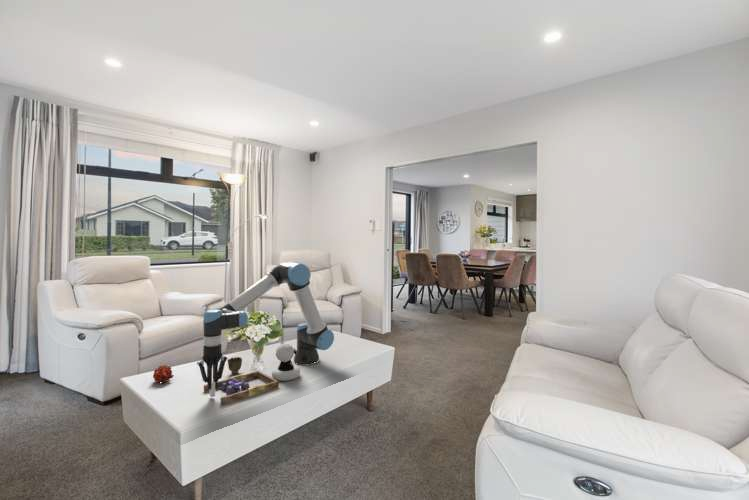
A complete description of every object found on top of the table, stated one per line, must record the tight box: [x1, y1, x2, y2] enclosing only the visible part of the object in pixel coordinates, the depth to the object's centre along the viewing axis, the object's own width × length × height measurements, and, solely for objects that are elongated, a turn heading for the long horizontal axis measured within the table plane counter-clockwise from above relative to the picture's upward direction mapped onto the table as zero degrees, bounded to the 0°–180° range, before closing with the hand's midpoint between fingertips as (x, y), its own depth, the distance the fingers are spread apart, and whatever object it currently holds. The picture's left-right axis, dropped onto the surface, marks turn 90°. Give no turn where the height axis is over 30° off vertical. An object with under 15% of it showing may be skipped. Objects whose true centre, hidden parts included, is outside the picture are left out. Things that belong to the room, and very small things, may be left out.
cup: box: [227, 356, 243, 375], centre depth 191 cm, size 8×7×8 cm
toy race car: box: [220, 379, 251, 396], centre depth 169 cm, size 10×15×6 cm, turn 43°
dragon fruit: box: [152, 365, 175, 385], centre depth 178 cm, size 8×8×12 cm
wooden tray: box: [203, 370, 280, 406], centre depth 170 cm, size 28×20×3 cm
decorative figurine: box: [271, 338, 301, 382], centre depth 187 cm, size 15×15×20 cm
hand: (212, 395), depth 160 cm, fingers closed
